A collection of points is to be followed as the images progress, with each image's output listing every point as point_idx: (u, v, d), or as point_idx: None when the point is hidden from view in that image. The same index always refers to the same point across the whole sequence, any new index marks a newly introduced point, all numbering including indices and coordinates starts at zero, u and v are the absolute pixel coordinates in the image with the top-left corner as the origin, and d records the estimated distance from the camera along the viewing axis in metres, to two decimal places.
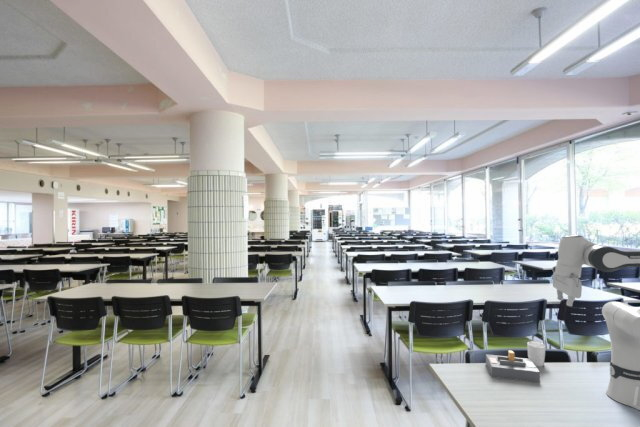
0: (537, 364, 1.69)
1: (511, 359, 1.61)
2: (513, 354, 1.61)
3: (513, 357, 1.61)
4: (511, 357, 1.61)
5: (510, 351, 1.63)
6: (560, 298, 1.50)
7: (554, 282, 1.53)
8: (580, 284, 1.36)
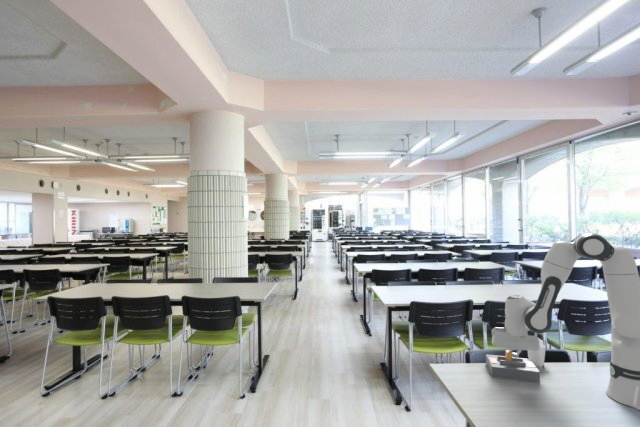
0: (537, 364, 1.69)
1: (508, 359, 1.61)
2: (510, 354, 1.61)
3: (510, 357, 1.61)
4: (508, 357, 1.61)
5: (507, 351, 1.63)
6: None
7: None
8: (494, 334, 1.63)
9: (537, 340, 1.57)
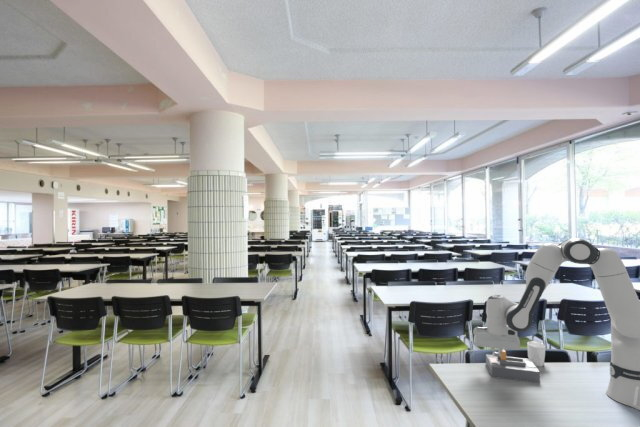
0: (537, 364, 1.69)
1: (503, 358, 1.62)
2: (505, 353, 1.62)
3: (505, 356, 1.62)
4: (503, 356, 1.62)
5: (502, 350, 1.64)
6: None
7: None
8: (475, 334, 1.65)
9: (517, 339, 1.59)
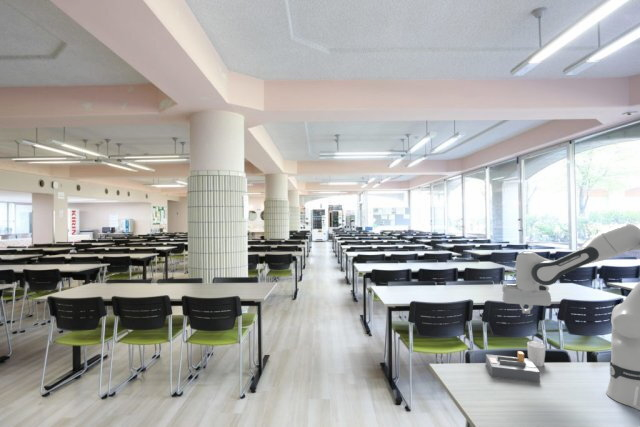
0: (537, 364, 1.69)
1: (520, 360, 1.60)
2: (522, 355, 1.60)
3: (522, 358, 1.60)
4: (520, 358, 1.60)
5: (519, 352, 1.62)
6: None
7: None
8: (505, 291, 1.63)
9: (548, 295, 1.57)
